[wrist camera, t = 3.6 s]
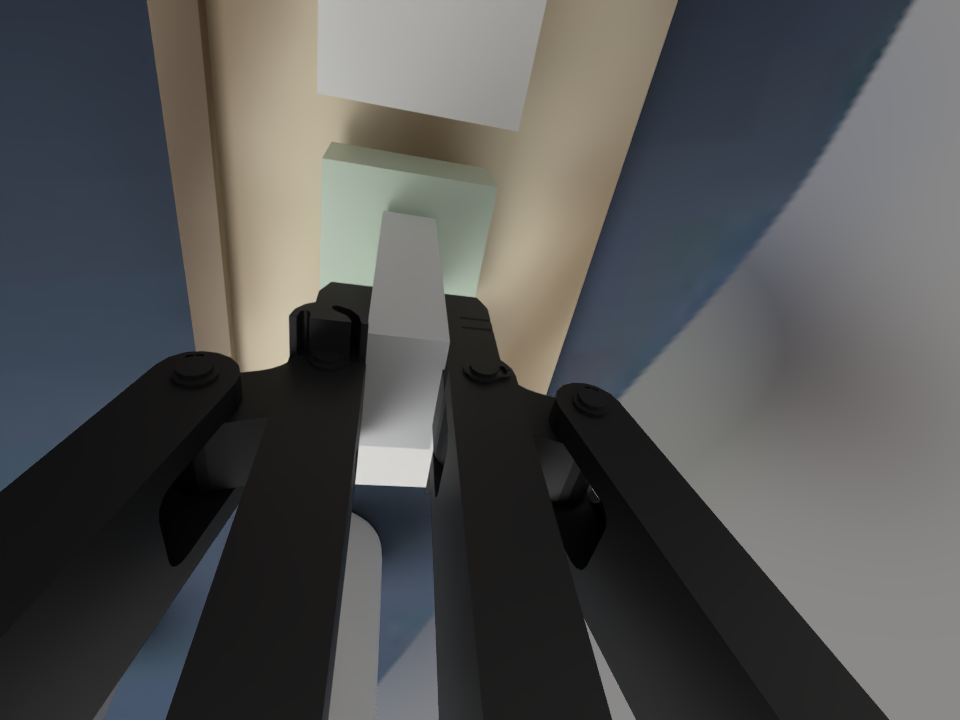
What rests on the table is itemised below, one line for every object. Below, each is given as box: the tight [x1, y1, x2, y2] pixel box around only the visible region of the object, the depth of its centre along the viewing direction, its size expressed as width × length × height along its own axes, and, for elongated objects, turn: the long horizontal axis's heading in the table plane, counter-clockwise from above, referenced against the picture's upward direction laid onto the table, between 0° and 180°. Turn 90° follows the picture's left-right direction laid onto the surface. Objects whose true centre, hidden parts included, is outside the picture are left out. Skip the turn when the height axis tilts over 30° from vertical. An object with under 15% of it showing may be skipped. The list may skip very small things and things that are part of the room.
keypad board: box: [147, 0, 678, 395], centre depth 16 cm, size 14×28×3 cm, turn 169°
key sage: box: [320, 142, 498, 297], centre depth 16 cm, size 5×5×2 cm
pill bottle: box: [328, 513, 382, 720], centre depth 24 cm, size 8×8×15 cm
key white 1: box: [355, 435, 433, 487], centre depth 19 cm, size 5×5×2 cm
